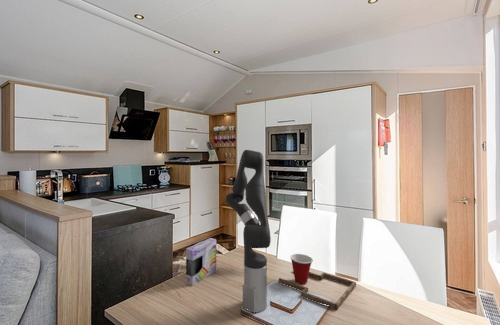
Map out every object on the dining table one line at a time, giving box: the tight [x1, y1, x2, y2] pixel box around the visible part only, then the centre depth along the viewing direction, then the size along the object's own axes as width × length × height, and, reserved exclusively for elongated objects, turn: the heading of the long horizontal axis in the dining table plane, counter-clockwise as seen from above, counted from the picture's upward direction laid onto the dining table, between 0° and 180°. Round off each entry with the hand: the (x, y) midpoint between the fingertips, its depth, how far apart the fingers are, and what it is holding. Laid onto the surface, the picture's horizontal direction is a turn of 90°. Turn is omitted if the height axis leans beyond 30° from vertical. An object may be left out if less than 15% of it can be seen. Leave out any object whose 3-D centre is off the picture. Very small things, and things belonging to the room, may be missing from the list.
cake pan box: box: [185, 237, 217, 287], centre depth 129 cm, size 19×5×18 cm, turn 148°
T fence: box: [278, 271, 357, 311], centre depth 121 cm, size 24×30×2 cm
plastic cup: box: [290, 253, 314, 285], centre depth 125 cm, size 11×11×12 cm
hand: (267, 247), depth 138 cm, fingers closed
